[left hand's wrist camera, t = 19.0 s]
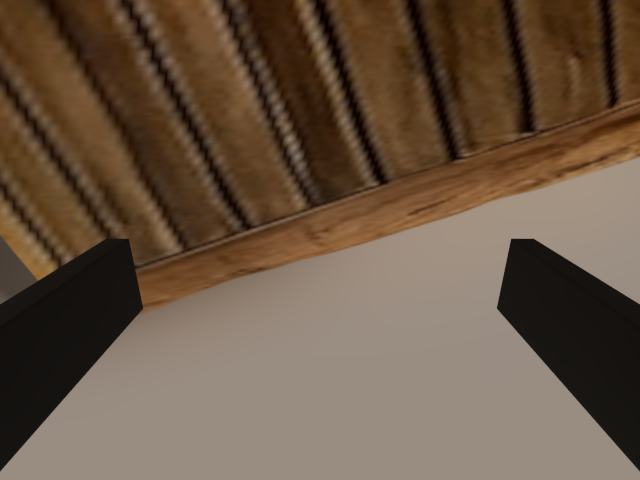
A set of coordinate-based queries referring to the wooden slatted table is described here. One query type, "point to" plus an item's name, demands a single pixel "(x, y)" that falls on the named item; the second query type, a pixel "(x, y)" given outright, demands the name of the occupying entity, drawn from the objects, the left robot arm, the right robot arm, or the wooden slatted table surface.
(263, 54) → the wooden slatted table surface
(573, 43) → the wooden slatted table surface
